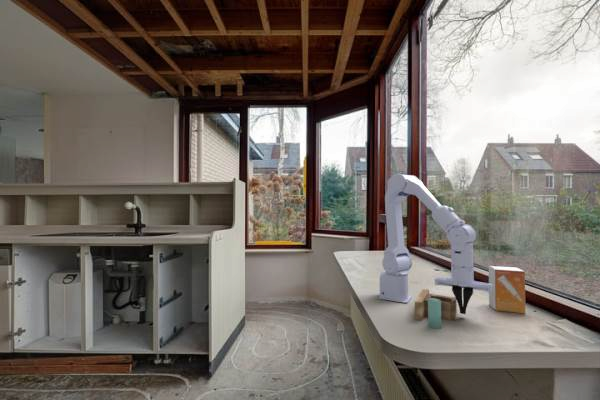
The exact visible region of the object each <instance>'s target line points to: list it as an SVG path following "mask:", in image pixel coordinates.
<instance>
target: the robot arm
mask: <svg viewBox="0 0 600 400" xmlns="http://www.w3.org/2000/svg"><path fill="white" fill-rule="evenodd" d="M386 183H387V184H386V185H387V189H386V192H385V195H384V203H385V204H384V206H385V207H384V208H385V218H386V230H387V231H386V233H387V244H388V246H387V247H386V249H385V250H384V251H383V259H382V265H381V266H382V268H383V270H384V271H382V272H380V275H379V297H378V299H379V300H386V301H390V302H391V301H392V302H398V303H404V304H408V303H409V301H410V300H411V298H412V295H409V272H410V270H411V269H412V267H413V266H412V265H413V260H412V258H411V256H410V251H409V249H408V248H407V246H406V245H405V234H404V225H403V212H402V210H403V209H402V202H403V201H404V200H405V198H406V197H408V196H410V195H412V196H416V198H417V199H418V200H419V201H421V203H422V204H424V206H426V208H428V209H429V210H430V211H431V218H432V220H434V221H435V222H436V224H437V225H438V226H440V228H441V229H442V230H443V231H444V232H445V233H446V239H447V240H448V242H449V243H450V265H451V266H450V267H451V270H450V271H451V272H450V273H451V275H450V278H449V277H437V276H436V277H434V286H445V287H446V286H447V287H451V291H452V293H453V296H454V297H456V302H457V305H458V308H459V314H460V315H461V314H463V315H466V313H467V307H468V304H469V301H470V300H471V298H472V296H473V294H474V290H477V291H483V292H484V291H485V292H486V291H487V292H488V293H489V292H492V284H489V282H482V281H477V280H475V277H474V271H475V269H474V243H473V242H475V240H476V239H477V232H476V230H475V229H474V227H473V226H472V225H470V224H466V221H465V220H464V219H461V218H460V217H459V216H458V215H457V214H456V213H455V212H454V211H455V209H454V208H453V207H452V206H451V207H449V206H448V205H442V204H441V203H440V202H439V200H437V198H436V197H435V196H434V195H433V194H432V192H431V191H430V190H428V188H427V187H426V185H424V183H423V181H422V180H420V179H419V178H418V177H417V176H416V175H414V174H413V175H412V174H410V175H409V174H402V173H399V172H397V173H394V174H392V175H391V177H389V178H388V180H387V182H386Z"/></svg>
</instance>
